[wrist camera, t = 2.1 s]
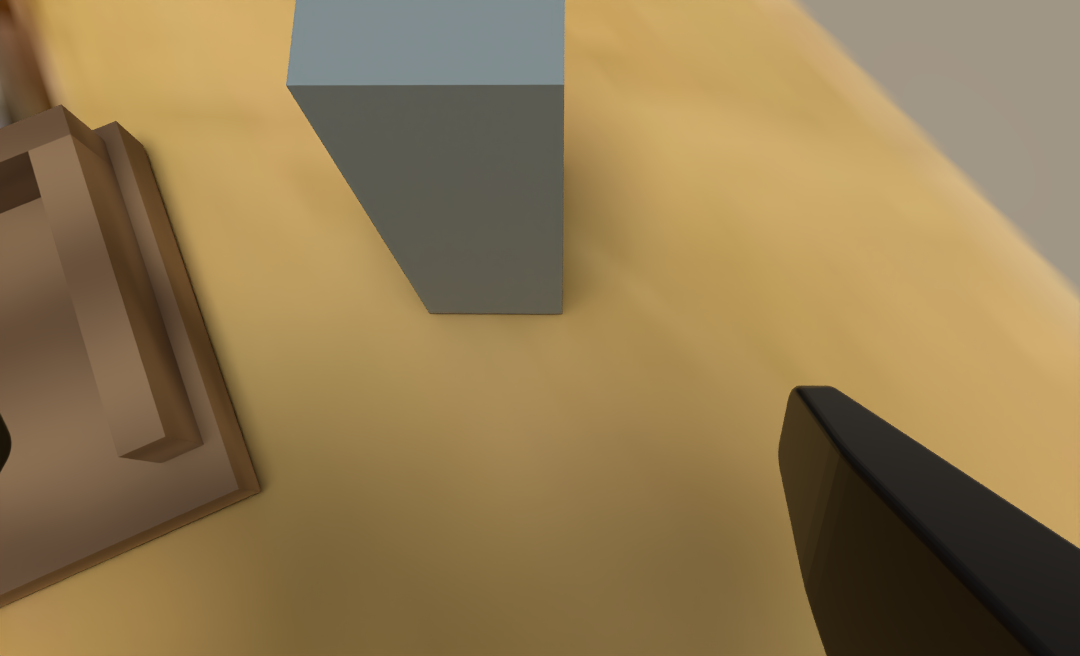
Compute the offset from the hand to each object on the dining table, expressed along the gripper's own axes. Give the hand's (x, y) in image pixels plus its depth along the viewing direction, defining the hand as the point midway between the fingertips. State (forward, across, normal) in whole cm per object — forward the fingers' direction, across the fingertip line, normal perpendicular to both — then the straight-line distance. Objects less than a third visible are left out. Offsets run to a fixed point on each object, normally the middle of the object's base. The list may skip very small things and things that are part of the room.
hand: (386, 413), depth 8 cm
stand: (+11, +14, +7) cm, 19 cm away
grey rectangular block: (+14, 0, +4) cm, 15 cm away
